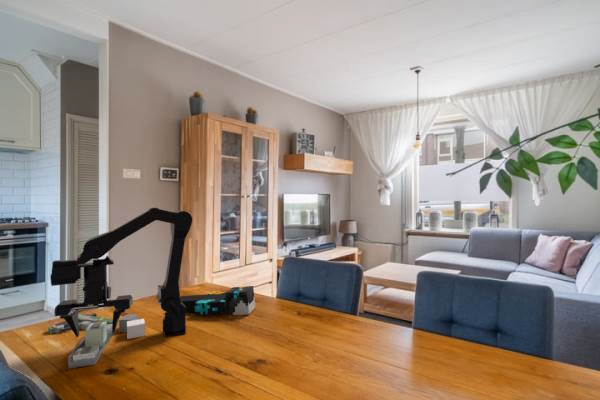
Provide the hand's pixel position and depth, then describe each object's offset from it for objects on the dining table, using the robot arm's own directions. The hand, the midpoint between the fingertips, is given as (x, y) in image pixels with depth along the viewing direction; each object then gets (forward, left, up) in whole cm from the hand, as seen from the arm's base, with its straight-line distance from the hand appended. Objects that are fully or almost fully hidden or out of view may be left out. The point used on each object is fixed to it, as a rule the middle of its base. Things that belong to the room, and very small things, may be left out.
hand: (95, 334), depth 96 cm
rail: (+1, 0, -4) cm, 4 cm away
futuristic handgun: (+8, -19, -5) cm, 21 cm away
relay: (-9, -7, -4) cm, 13 cm away
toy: (-35, -23, -5) cm, 42 cm away
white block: (-6, -13, -4) cm, 15 cm away
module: (0, 0, -2) cm, 3 cm away
